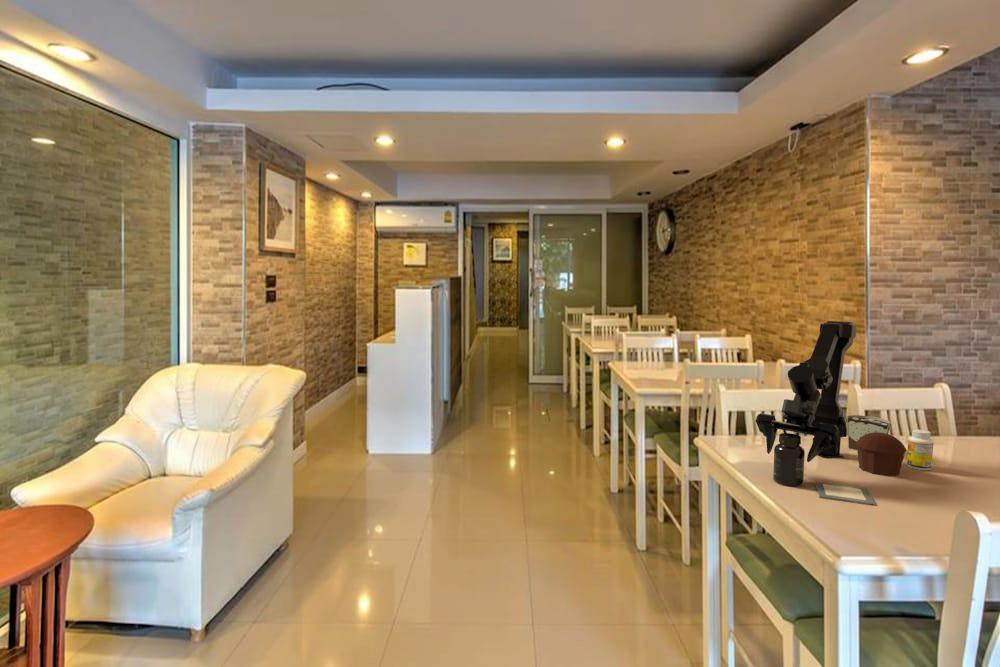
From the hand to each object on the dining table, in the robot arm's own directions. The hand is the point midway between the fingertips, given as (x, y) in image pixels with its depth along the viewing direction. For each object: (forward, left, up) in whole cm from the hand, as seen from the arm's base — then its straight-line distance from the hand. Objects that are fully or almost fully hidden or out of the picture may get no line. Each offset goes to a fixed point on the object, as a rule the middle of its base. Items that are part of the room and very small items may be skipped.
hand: (787, 456), depth 143 cm
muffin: (-32, -7, -7) cm, 33 cm away
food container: (-44, -24, -7) cm, 50 cm away
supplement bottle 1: (-1, -1, -7) cm, 7 cm away
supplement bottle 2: (-45, -8, -7) cm, 46 cm away
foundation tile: (-9, +8, -7) cm, 14 cm away
